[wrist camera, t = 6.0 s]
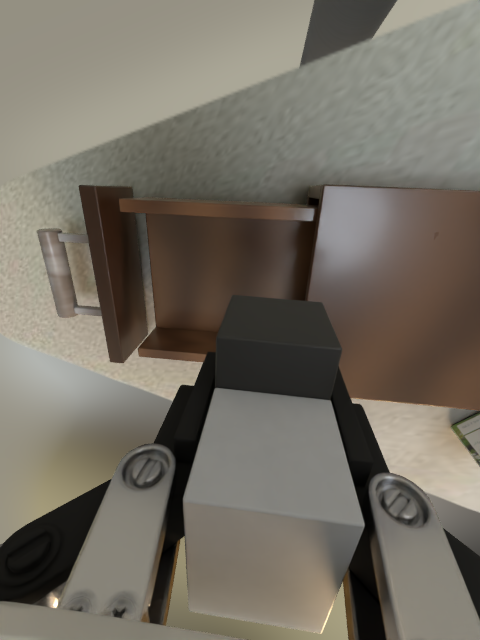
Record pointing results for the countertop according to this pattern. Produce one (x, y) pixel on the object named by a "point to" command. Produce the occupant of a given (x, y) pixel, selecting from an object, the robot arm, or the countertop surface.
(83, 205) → the drawer
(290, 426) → the two-tone rectangular prism
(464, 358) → the cabinet
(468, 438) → the syrup box
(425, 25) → the countertop surface
